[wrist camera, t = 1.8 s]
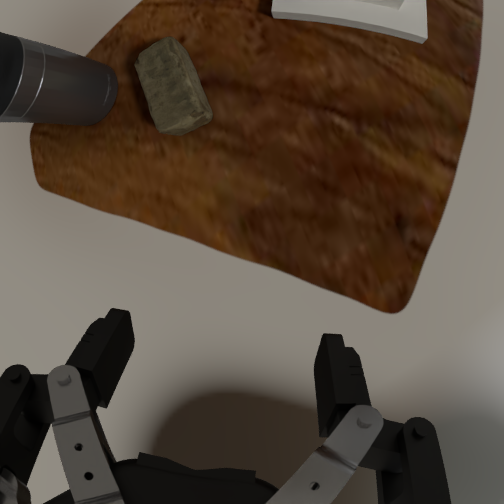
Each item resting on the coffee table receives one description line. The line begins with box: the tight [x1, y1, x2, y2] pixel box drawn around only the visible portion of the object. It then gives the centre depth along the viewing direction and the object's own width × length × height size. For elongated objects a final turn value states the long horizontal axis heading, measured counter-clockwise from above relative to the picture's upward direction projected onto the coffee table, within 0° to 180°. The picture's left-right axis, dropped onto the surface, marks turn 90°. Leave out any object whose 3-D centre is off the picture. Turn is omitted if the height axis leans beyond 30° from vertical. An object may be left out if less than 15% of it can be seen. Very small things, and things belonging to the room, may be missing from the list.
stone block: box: [135, 37, 213, 135], centre depth 33 cm, size 6×12×5 cm, turn 22°
